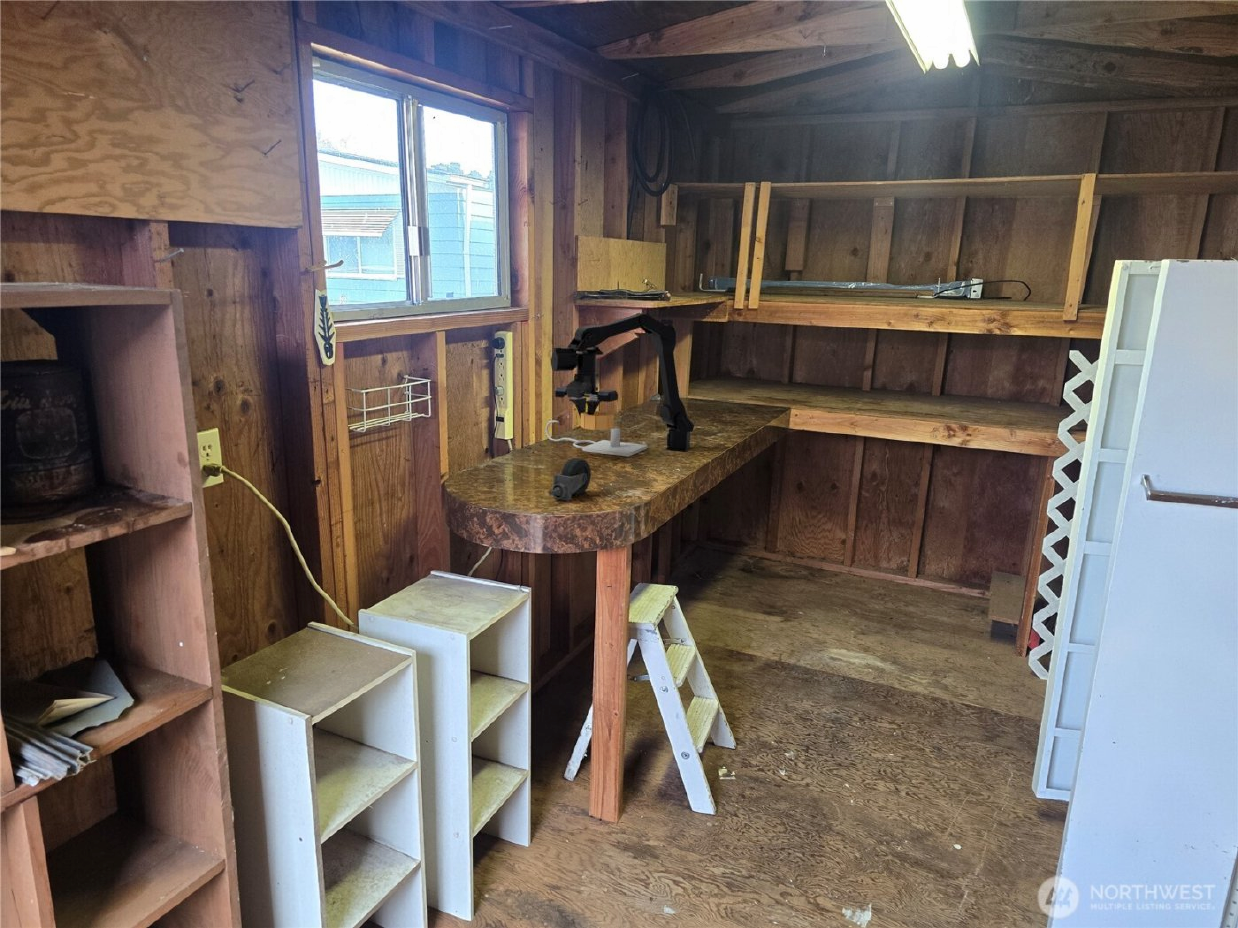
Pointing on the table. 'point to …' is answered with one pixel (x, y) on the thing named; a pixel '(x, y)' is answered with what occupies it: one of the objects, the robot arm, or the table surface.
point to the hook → (567, 438)
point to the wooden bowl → (597, 420)
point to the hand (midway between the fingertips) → (585, 422)
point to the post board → (615, 451)
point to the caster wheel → (571, 479)
